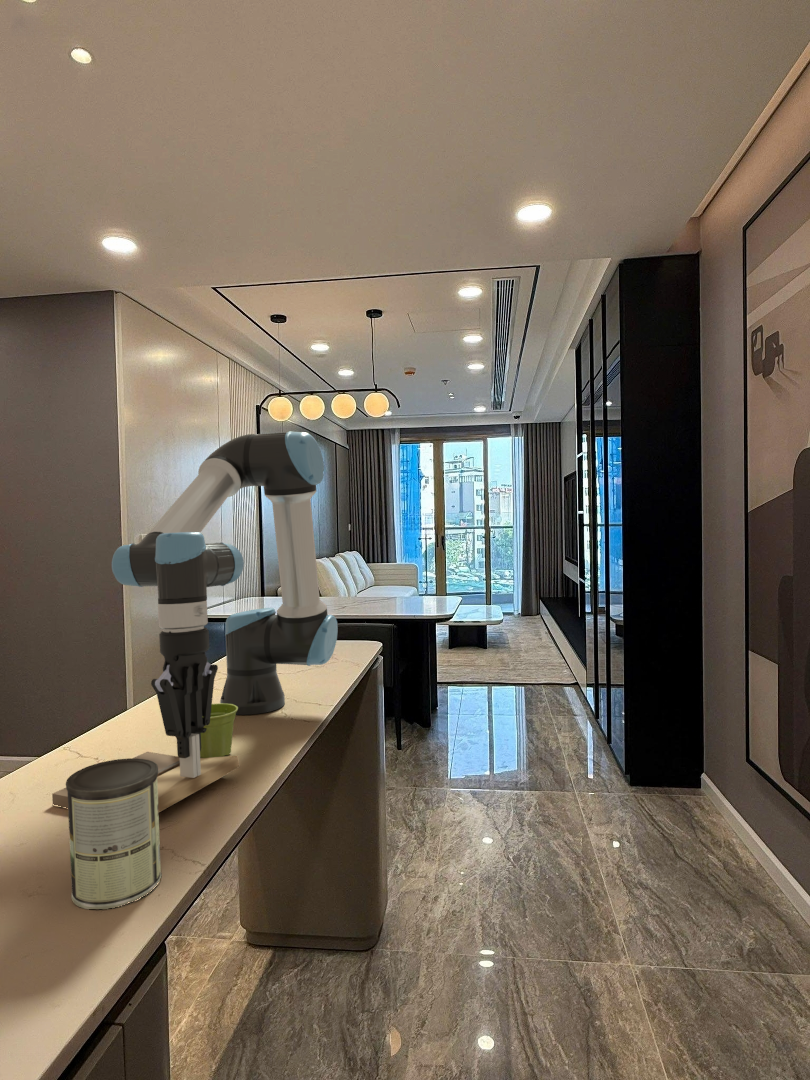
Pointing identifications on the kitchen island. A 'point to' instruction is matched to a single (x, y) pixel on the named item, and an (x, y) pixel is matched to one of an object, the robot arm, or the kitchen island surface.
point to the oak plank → (192, 779)
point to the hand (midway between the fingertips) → (190, 775)
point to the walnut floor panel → (161, 760)
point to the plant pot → (218, 731)
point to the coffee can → (113, 832)
